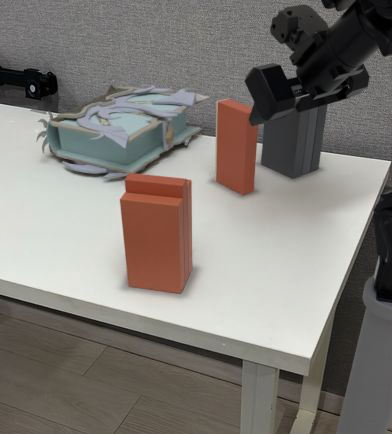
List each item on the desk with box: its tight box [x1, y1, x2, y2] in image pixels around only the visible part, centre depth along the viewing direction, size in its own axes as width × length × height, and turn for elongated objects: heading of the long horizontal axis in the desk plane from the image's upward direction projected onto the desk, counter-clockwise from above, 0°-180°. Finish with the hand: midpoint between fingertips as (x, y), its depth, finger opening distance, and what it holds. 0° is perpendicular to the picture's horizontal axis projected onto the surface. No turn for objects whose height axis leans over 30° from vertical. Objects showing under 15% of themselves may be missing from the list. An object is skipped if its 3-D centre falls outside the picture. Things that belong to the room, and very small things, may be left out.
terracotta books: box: [119, 173, 193, 295], centre depth 69 cm, size 7×6×14 cm
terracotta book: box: [214, 98, 259, 196], centre depth 90 cm, size 7×2×13 cm, turn 38°
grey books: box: [260, 76, 329, 179], centre depth 95 cm, size 8×6×14 cm
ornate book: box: [36, 84, 209, 179], centre depth 103 cm, size 23×10×30 cm
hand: (274, 116), depth 80 cm, fingers open, 9 cm apart
